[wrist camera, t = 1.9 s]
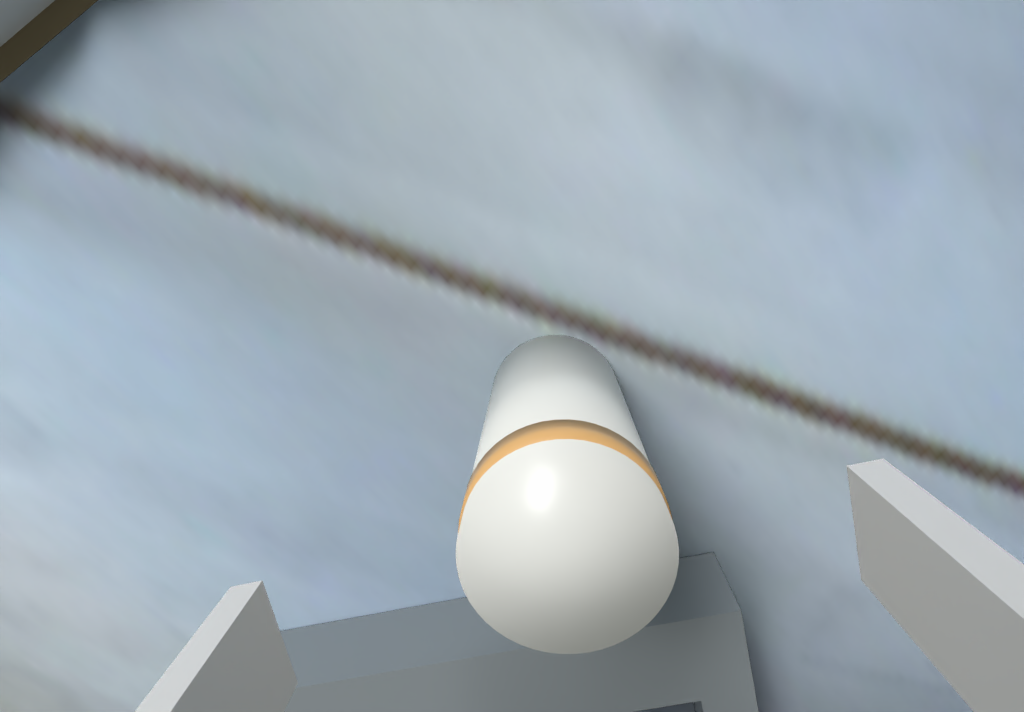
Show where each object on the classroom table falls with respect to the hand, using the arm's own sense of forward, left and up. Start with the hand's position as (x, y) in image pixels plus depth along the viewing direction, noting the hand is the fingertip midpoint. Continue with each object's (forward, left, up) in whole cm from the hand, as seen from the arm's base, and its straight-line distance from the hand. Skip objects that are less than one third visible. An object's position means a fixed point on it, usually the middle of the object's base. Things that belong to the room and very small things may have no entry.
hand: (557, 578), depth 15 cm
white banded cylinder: (0, 0, -12) cm, 12 cm away
